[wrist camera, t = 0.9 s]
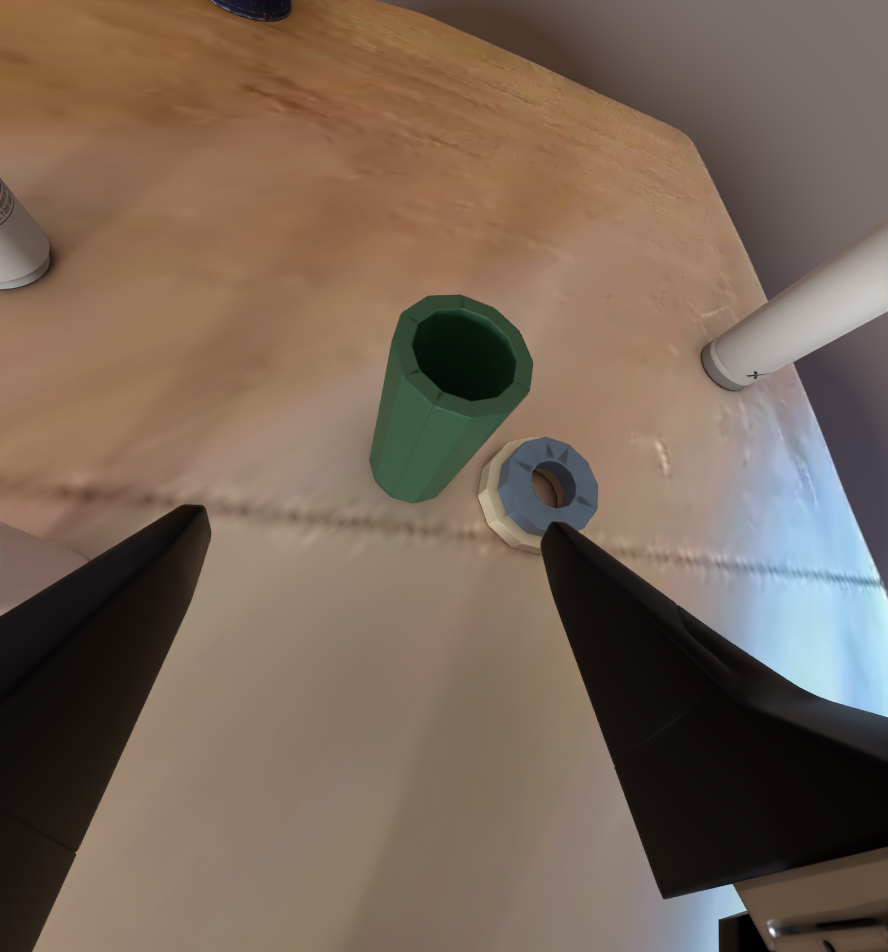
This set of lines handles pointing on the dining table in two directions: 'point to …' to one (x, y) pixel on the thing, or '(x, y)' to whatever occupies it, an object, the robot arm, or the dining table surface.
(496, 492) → the ring stack
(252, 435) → the dining table surface
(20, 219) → the energy drink can
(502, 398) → the green pencil cup
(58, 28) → the dining table surface
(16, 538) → the smoothie
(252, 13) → the storage jar
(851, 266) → the travel mug
